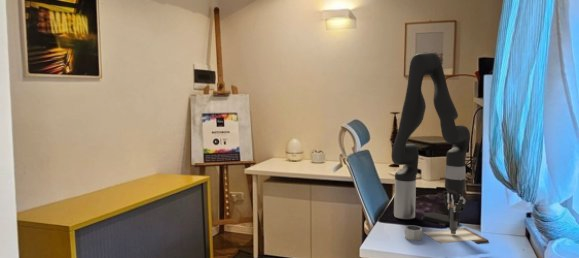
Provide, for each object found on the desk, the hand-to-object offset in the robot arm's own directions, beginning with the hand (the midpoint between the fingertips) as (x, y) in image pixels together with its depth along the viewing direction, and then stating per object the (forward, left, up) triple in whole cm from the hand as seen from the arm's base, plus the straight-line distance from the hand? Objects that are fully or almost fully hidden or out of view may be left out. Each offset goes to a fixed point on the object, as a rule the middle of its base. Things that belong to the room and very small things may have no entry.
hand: (453, 219), depth 181 cm
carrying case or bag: (-18, +5, -8) cm, 20 cm away
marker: (0, 0, -5) cm, 5 cm away
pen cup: (0, -17, -7) cm, 18 cm away
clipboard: (0, -1, -7) cm, 7 cm away
